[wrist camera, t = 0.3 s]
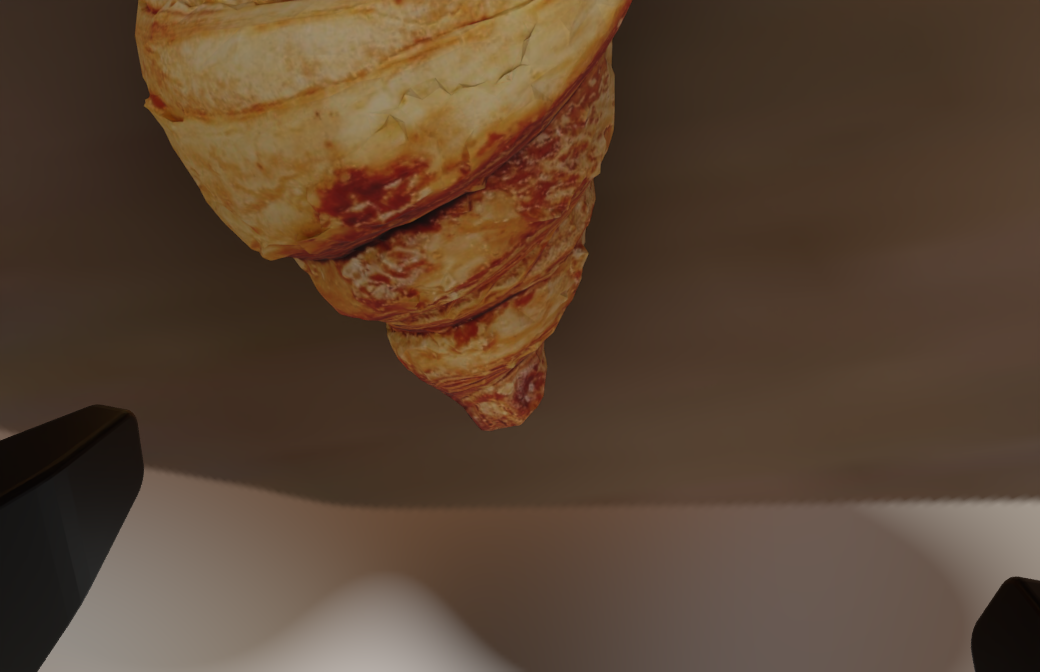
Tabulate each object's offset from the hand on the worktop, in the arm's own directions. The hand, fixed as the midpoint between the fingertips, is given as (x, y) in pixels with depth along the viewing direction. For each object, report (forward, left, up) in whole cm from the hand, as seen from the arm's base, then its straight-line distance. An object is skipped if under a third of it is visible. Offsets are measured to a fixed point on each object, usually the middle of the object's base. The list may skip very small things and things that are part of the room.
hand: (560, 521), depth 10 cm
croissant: (-1, -5, -15) cm, 16 cm away
